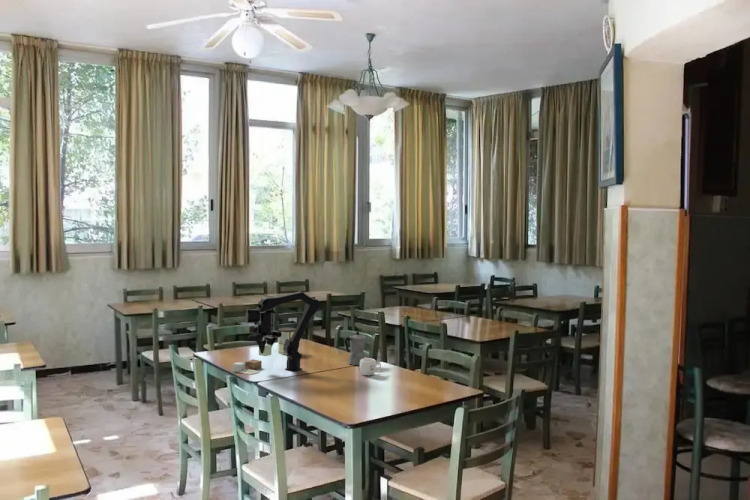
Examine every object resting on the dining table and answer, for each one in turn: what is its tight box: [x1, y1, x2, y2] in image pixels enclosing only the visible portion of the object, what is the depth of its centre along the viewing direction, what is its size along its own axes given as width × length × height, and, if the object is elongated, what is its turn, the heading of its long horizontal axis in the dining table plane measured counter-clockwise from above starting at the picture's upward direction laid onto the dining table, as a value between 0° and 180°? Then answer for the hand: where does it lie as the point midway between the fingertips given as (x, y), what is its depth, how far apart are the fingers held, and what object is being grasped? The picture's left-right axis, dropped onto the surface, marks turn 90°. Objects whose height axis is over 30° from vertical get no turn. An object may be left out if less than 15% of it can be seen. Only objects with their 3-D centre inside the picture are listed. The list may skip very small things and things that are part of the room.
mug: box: [359, 357, 382, 376], centre depth 330 cm, size 12×8×8 cm
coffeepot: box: [343, 331, 368, 366], centre depth 352 cm, size 15×9×18 cm, turn 129°
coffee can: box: [277, 326, 297, 355], centre depth 377 cm, size 10×10×14 cm
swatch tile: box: [239, 369, 260, 376], centre depth 327 cm, size 7×7×1 cm
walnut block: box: [244, 359, 263, 371], centre depth 336 cm, size 6×6×4 cm
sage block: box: [258, 343, 273, 357], centre depth 329 cm, size 4×4×5 cm
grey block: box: [232, 361, 246, 373], centre depth 330 cm, size 4×4×4 cm
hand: (265, 352), depth 329 cm, fingers closed on sage block, 4 cm apart
